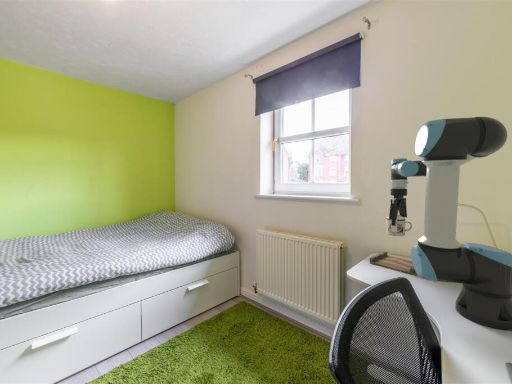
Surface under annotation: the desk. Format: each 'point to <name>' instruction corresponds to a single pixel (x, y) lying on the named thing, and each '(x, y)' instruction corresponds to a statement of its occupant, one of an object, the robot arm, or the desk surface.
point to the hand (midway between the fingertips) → (398, 230)
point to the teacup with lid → (400, 226)
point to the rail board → (393, 263)
